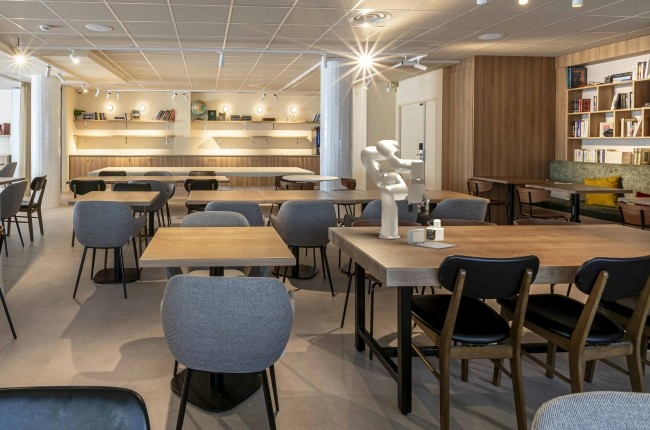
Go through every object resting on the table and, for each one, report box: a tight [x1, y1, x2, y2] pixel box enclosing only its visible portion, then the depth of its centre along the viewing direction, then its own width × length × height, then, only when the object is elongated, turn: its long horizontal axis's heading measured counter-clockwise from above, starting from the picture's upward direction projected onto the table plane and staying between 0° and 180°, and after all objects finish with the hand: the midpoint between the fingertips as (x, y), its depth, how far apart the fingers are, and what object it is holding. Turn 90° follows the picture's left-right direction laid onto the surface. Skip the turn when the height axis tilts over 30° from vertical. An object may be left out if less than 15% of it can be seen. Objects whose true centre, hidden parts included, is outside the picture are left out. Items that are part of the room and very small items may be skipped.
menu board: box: [406, 228, 426, 245], centre depth 355 cm, size 3×11×8 cm, turn 129°
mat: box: [412, 241, 458, 250], centre depth 345 cm, size 18×16×1 cm
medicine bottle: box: [425, 218, 445, 242], centre depth 365 cm, size 7×7×12 cm
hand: (416, 212), depth 353 cm, fingers open, 9 cm apart
